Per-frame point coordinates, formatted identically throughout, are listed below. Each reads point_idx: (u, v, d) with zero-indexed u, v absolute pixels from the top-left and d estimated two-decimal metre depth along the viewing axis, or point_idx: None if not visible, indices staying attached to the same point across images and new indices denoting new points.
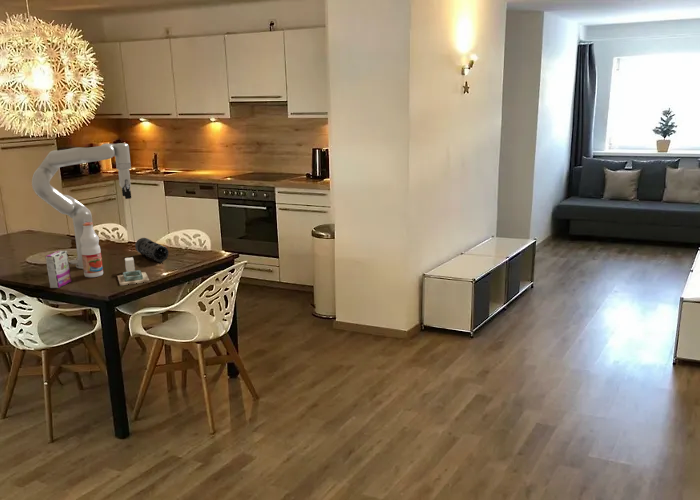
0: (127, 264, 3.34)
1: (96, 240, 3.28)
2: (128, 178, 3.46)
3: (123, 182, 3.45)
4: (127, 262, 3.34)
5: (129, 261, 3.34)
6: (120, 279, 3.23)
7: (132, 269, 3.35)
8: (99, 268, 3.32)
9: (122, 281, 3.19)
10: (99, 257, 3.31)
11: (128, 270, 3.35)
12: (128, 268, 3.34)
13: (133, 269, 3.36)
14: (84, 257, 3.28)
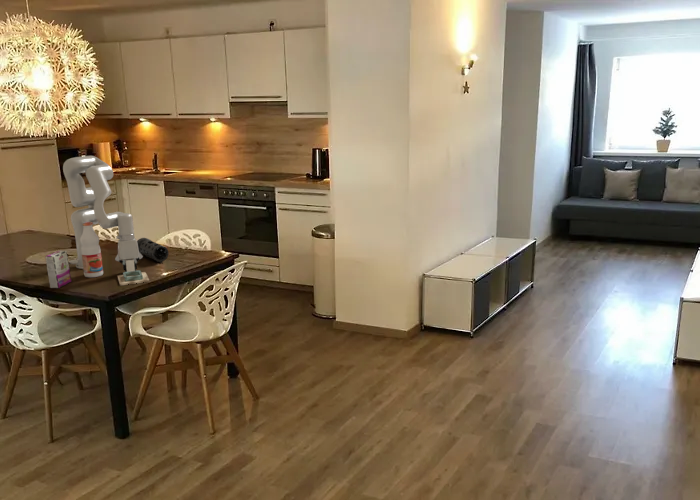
0: (127, 264, 3.34)
1: (96, 240, 3.28)
2: None
3: (138, 251, 3.36)
4: (127, 262, 3.34)
5: (129, 261, 3.34)
6: (120, 279, 3.23)
7: (132, 269, 3.35)
8: (99, 268, 3.32)
9: (122, 281, 3.19)
10: (99, 257, 3.31)
11: (128, 270, 3.35)
12: (128, 268, 3.34)
13: (133, 269, 3.36)
14: (84, 257, 3.28)
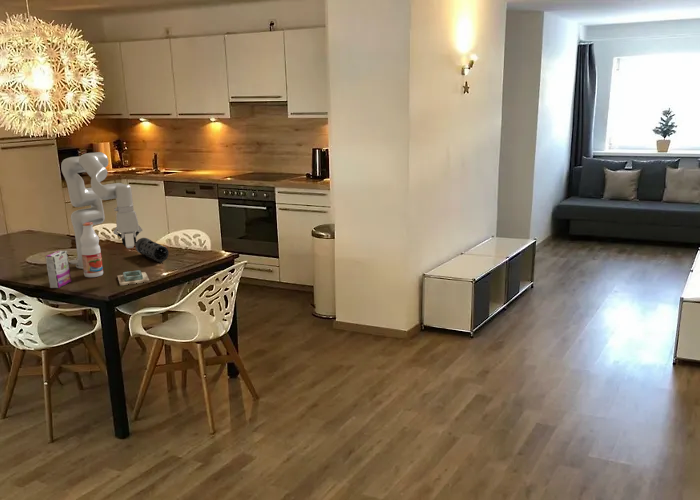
0: (126, 237, 3.19)
1: (96, 240, 3.28)
2: None
3: None
4: (126, 235, 3.19)
5: (128, 234, 3.19)
6: (120, 279, 3.23)
7: (131, 243, 3.20)
8: (99, 268, 3.32)
9: (122, 281, 3.19)
10: (99, 257, 3.31)
11: (127, 244, 3.20)
12: (127, 242, 3.19)
13: (132, 243, 3.21)
14: (84, 257, 3.28)
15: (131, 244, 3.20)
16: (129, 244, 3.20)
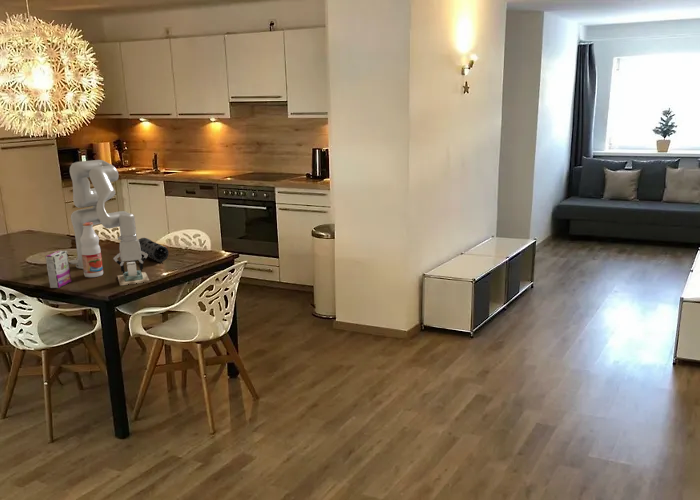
0: (129, 269, 3.21)
1: (96, 240, 3.28)
2: None
3: (141, 253, 3.23)
4: (129, 267, 3.21)
5: (131, 266, 3.21)
6: (120, 279, 3.23)
7: (134, 274, 3.23)
8: (99, 268, 3.32)
9: (122, 281, 3.19)
10: (99, 257, 3.31)
11: (130, 275, 3.22)
12: (130, 273, 3.22)
13: (135, 274, 3.23)
14: (84, 257, 3.28)
15: (134, 275, 3.23)
16: (132, 275, 3.22)
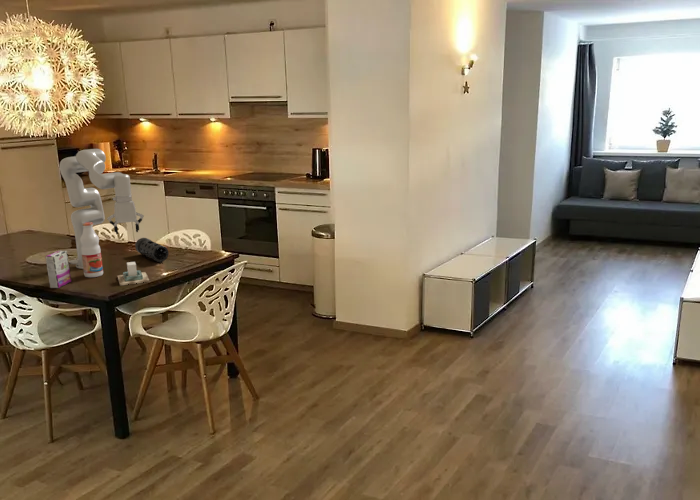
0: (129, 269, 3.21)
1: (96, 240, 3.28)
2: None
3: (136, 214, 3.20)
4: (129, 267, 3.21)
5: (131, 266, 3.21)
6: (120, 279, 3.23)
7: (134, 274, 3.23)
8: (99, 268, 3.32)
9: (122, 281, 3.19)
10: (99, 257, 3.31)
11: (130, 275, 3.22)
12: (130, 273, 3.22)
13: (135, 274, 3.23)
14: (84, 257, 3.28)
15: (134, 275, 3.23)
16: (132, 275, 3.22)
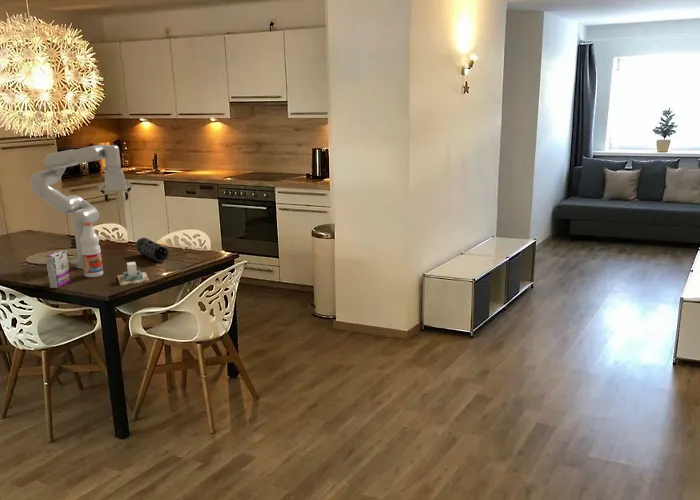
0: (129, 269, 3.21)
1: (96, 240, 3.28)
2: None
3: (125, 183, 3.40)
4: (129, 267, 3.21)
5: (131, 266, 3.21)
6: (120, 279, 3.23)
7: (134, 274, 3.23)
8: (99, 268, 3.32)
9: (122, 281, 3.19)
10: (99, 257, 3.31)
11: (130, 275, 3.22)
12: (130, 273, 3.22)
13: (135, 274, 3.23)
14: (84, 257, 3.28)
15: (134, 275, 3.23)
16: (132, 275, 3.22)
